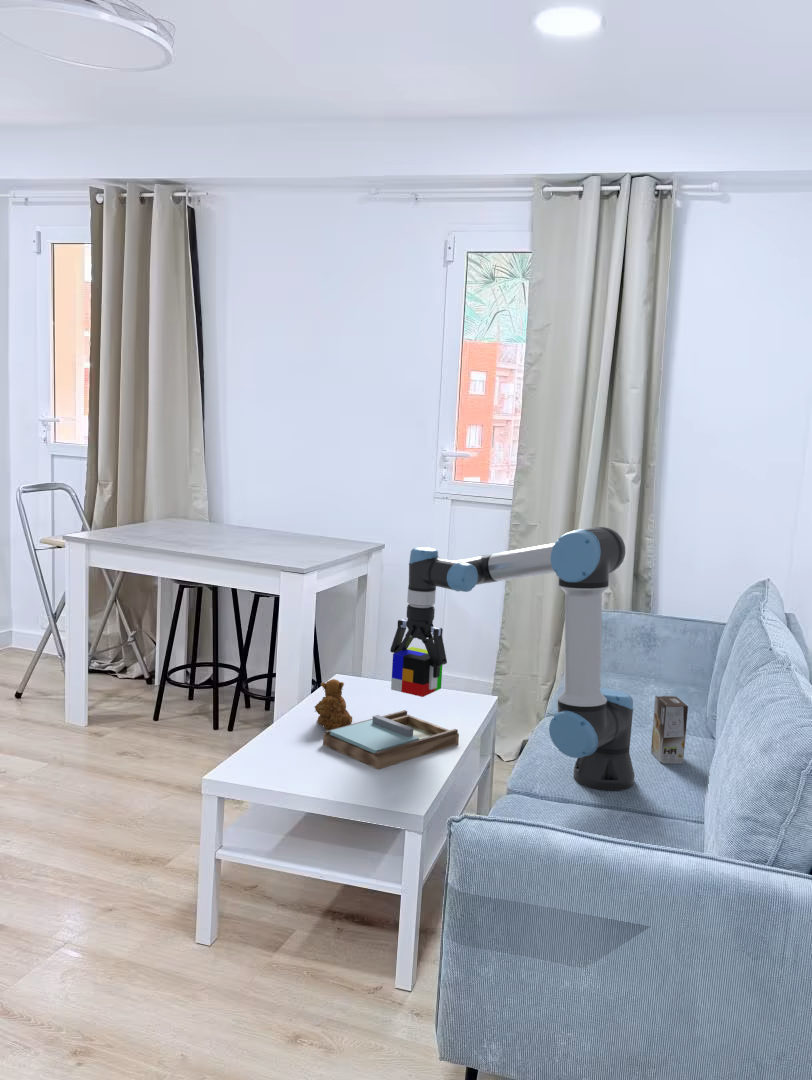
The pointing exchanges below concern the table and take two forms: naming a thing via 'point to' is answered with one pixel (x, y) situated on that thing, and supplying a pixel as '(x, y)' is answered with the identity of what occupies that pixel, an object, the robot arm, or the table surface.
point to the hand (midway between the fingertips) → (416, 683)
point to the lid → (376, 734)
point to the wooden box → (428, 742)
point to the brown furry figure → (333, 706)
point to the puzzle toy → (413, 672)
